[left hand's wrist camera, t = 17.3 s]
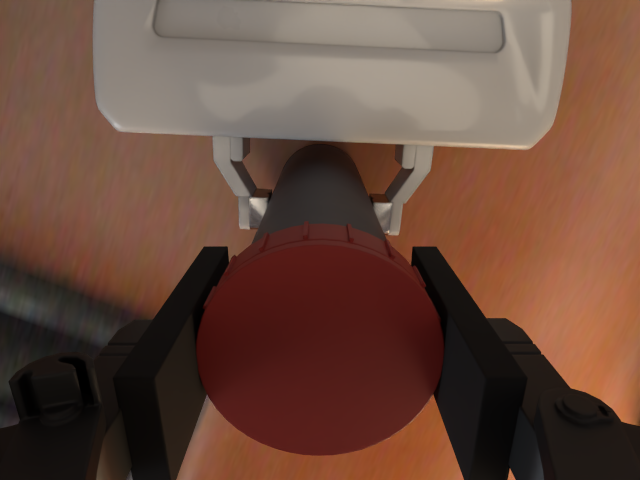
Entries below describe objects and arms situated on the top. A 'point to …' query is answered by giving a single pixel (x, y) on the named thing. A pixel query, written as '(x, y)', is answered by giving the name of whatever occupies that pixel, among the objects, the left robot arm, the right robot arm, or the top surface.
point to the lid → (320, 341)
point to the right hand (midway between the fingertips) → (320, 229)
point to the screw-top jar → (320, 194)
